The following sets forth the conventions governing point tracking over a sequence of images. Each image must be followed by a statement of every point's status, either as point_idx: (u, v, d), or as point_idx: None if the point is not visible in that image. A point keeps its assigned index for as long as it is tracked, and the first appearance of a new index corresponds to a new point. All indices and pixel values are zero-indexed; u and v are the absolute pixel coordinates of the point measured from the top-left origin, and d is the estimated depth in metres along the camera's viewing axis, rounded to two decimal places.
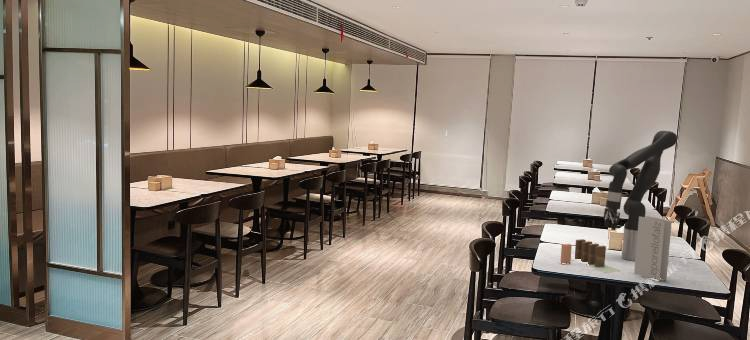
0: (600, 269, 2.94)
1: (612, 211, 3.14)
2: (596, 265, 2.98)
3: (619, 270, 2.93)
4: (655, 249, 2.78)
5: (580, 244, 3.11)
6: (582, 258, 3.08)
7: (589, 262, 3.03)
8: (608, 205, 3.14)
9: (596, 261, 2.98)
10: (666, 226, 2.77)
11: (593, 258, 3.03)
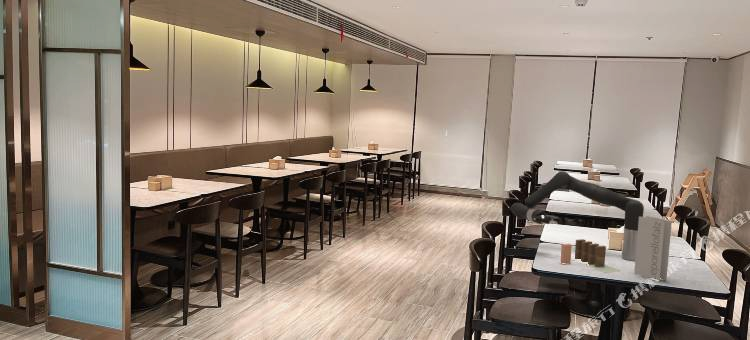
0: (600, 269, 2.94)
1: None
2: (596, 265, 2.98)
3: (619, 270, 2.93)
4: (655, 249, 2.78)
5: (580, 244, 3.11)
6: (582, 258, 3.08)
7: (589, 262, 3.03)
8: None
9: (596, 261, 2.98)
10: (666, 226, 2.77)
11: (593, 258, 3.03)
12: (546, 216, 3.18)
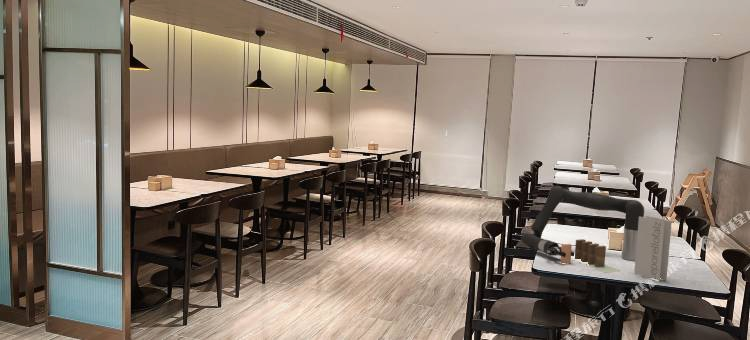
0: (600, 269, 2.94)
1: None
2: (596, 265, 2.98)
3: (619, 270, 2.93)
4: (655, 249, 2.78)
5: (580, 244, 3.11)
6: (582, 258, 3.08)
7: (589, 262, 3.03)
8: (549, 254, 3.13)
9: (596, 261, 2.98)
10: (666, 226, 2.77)
11: (593, 258, 3.03)
12: (558, 248, 3.09)
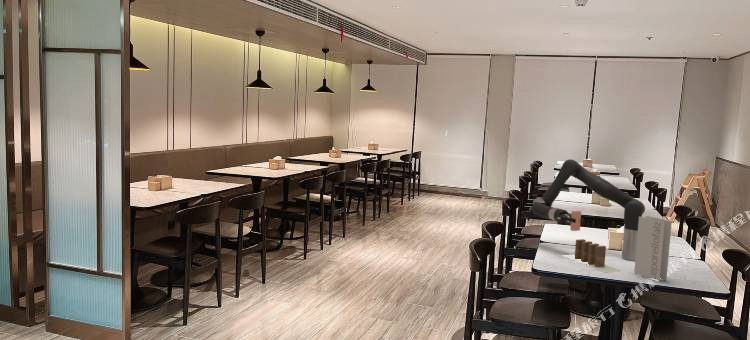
0: (600, 269, 2.94)
1: None
2: (596, 265, 2.98)
3: (619, 270, 2.93)
4: (655, 249, 2.78)
5: (580, 244, 3.11)
6: (582, 258, 3.08)
7: (589, 262, 3.03)
8: (559, 221, 3.25)
9: (596, 261, 2.98)
10: (666, 226, 2.77)
11: (593, 258, 3.03)
12: (568, 215, 3.22)
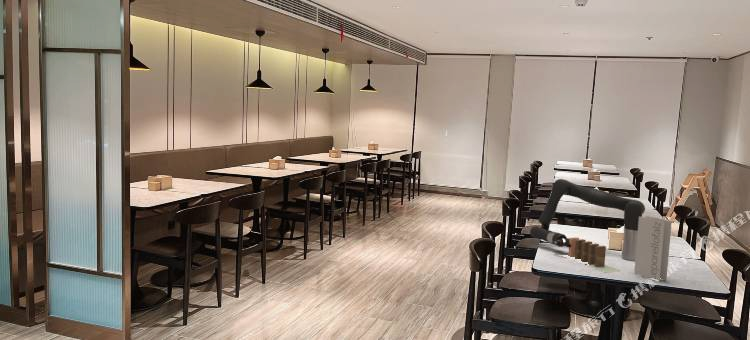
0: (600, 269, 2.94)
1: None
2: (596, 265, 2.98)
3: (619, 270, 2.93)
4: (655, 249, 2.78)
5: (580, 244, 3.11)
6: (582, 258, 3.08)
7: (589, 262, 3.03)
8: None
9: (596, 261, 2.98)
10: (666, 226, 2.77)
11: (593, 258, 3.03)
12: (567, 239, 3.23)
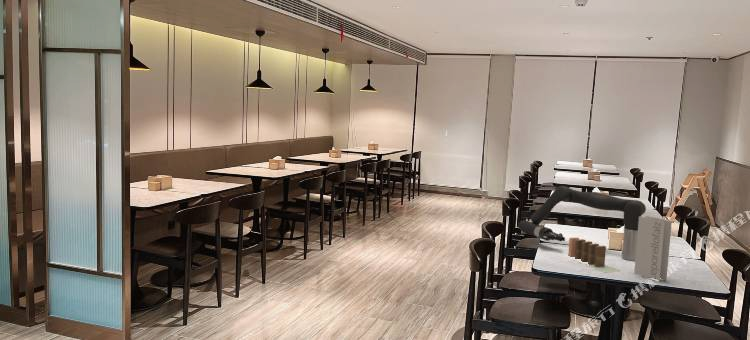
0: (600, 269, 2.94)
1: None
2: (596, 265, 2.98)
3: (619, 270, 2.93)
4: (655, 249, 2.78)
5: (580, 244, 3.11)
6: (582, 258, 3.08)
7: (589, 262, 3.03)
8: (544, 239, 3.38)
9: (596, 261, 2.98)
10: (666, 226, 2.77)
11: (593, 258, 3.03)
12: (552, 233, 3.35)
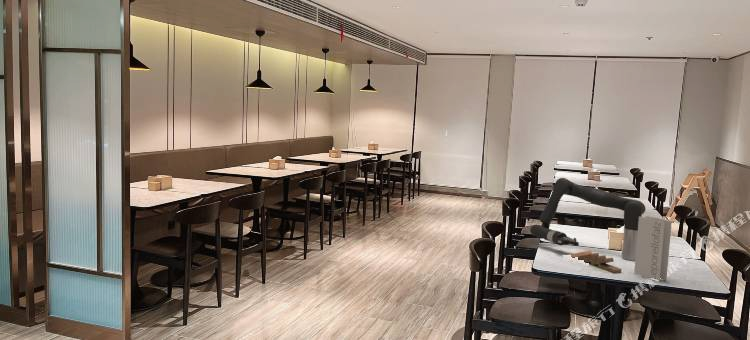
0: (600, 269, 2.94)
1: None
2: (599, 267, 2.96)
3: None
4: (655, 249, 2.78)
5: None
6: (586, 260, 3.05)
7: (592, 263, 3.00)
8: None
9: (602, 267, 2.94)
10: (666, 226, 2.77)
11: None
12: (566, 238, 3.24)
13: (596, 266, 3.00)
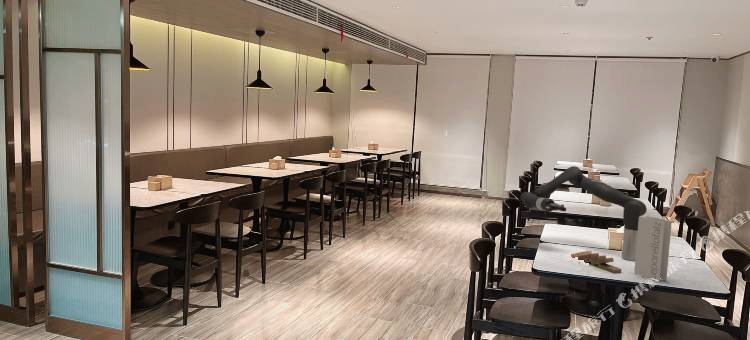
0: (600, 269, 2.94)
1: None
2: (599, 267, 2.96)
3: None
4: (655, 249, 2.78)
5: None
6: (586, 260, 3.05)
7: (592, 263, 3.00)
8: None
9: (602, 267, 2.94)
10: (666, 226, 2.77)
11: None
12: None
13: (596, 266, 3.00)
